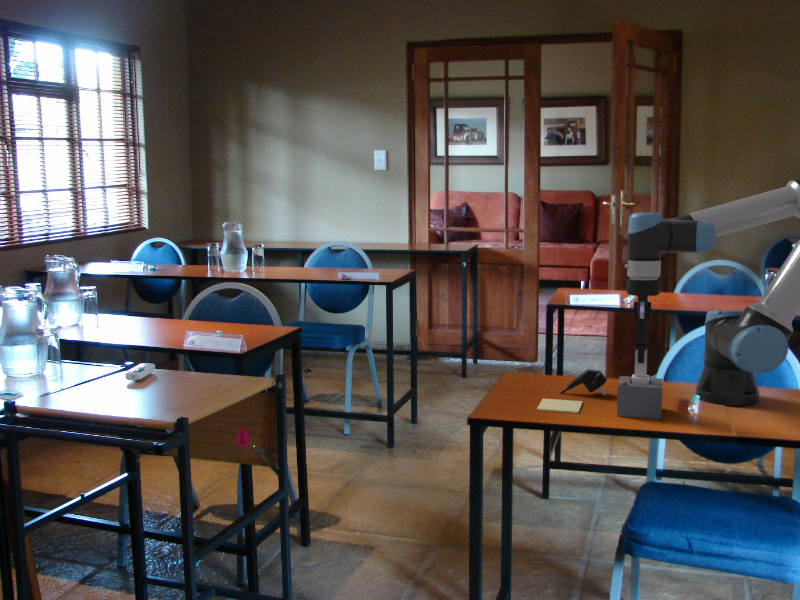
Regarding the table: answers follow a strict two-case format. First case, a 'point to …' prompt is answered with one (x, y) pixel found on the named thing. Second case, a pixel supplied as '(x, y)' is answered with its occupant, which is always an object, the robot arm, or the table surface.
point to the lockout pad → (560, 405)
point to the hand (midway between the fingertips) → (640, 375)
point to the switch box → (639, 398)
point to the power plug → (589, 381)
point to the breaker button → (640, 379)
